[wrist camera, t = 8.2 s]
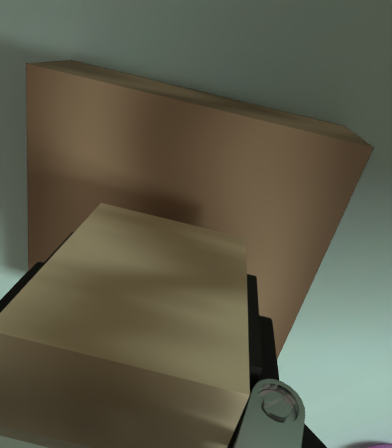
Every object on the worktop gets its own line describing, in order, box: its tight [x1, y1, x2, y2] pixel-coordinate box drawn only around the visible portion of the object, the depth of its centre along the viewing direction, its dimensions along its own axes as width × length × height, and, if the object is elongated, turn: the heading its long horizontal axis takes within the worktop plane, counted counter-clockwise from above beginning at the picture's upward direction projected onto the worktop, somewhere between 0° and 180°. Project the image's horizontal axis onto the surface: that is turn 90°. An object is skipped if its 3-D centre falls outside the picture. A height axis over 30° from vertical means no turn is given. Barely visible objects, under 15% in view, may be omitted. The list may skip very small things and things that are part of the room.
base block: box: [26, 60, 374, 358], centre depth 16 cm, size 12×12×4 cm
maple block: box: [0, 203, 250, 448], centre depth 10 cm, size 5×5×6 cm
